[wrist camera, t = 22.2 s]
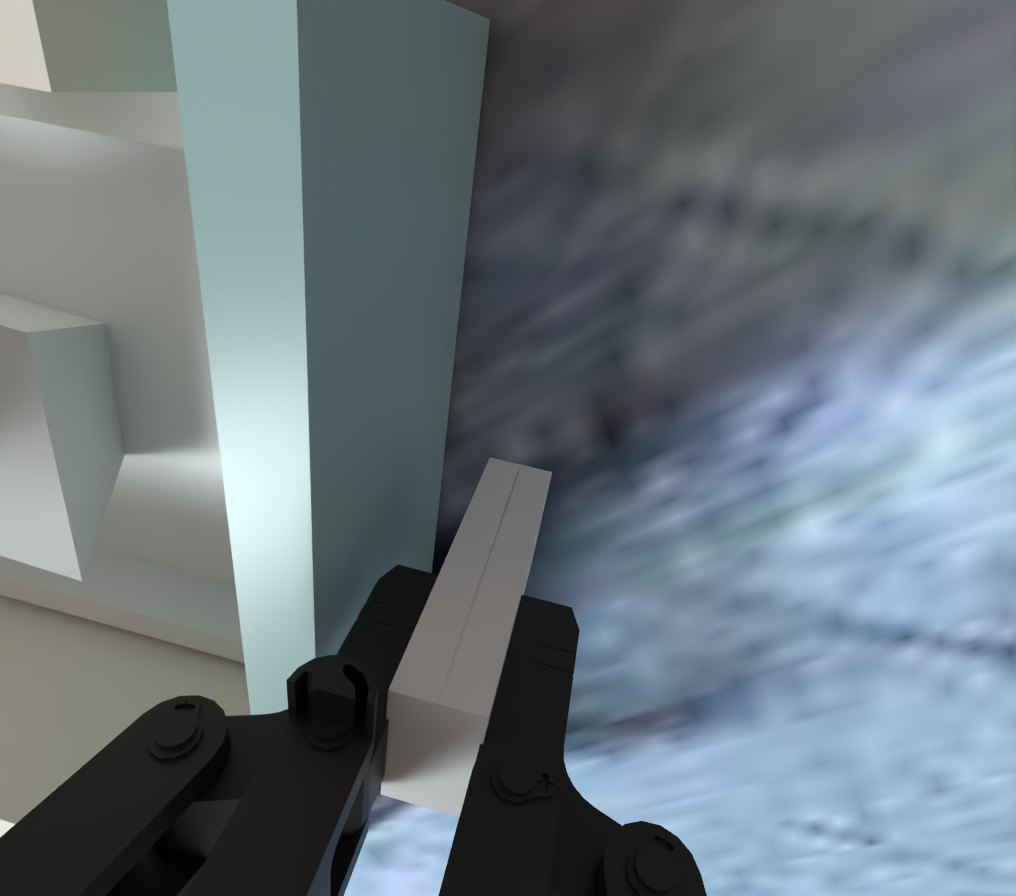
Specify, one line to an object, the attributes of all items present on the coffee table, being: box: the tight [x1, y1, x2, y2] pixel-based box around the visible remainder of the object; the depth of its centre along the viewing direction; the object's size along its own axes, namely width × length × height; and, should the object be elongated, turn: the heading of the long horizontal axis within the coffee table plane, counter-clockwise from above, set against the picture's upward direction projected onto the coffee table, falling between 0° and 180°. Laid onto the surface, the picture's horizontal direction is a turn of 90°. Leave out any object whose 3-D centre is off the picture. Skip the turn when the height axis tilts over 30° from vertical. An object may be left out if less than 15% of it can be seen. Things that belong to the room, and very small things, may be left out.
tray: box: [0, 0, 490, 715], centre depth 15 cm, size 19×20×8 cm
